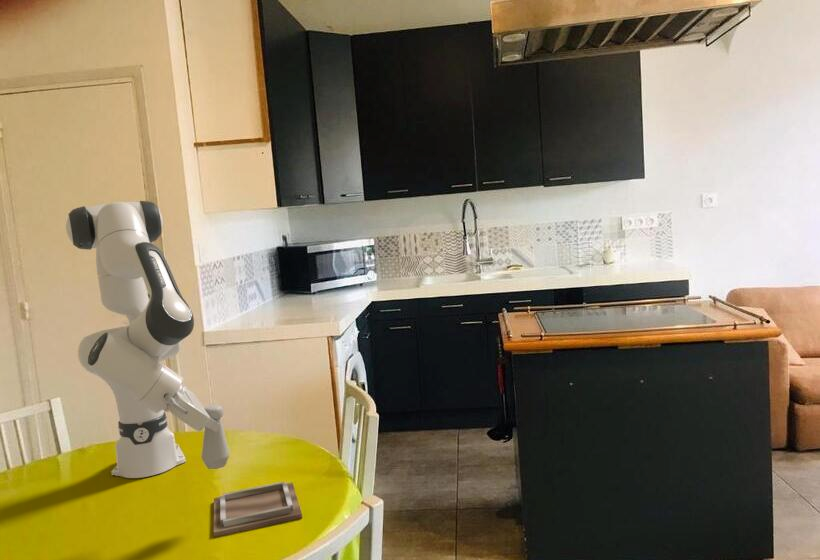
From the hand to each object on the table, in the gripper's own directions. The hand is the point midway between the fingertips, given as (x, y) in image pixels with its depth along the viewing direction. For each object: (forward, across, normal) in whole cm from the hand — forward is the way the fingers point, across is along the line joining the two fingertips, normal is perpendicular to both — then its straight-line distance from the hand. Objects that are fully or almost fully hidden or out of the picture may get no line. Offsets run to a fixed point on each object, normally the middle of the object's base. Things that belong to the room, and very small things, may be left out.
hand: (216, 425), depth 145 cm
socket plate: (+19, -1, +10) cm, 21 cm away
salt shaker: (+5, 0, +7) cm, 9 cm away
